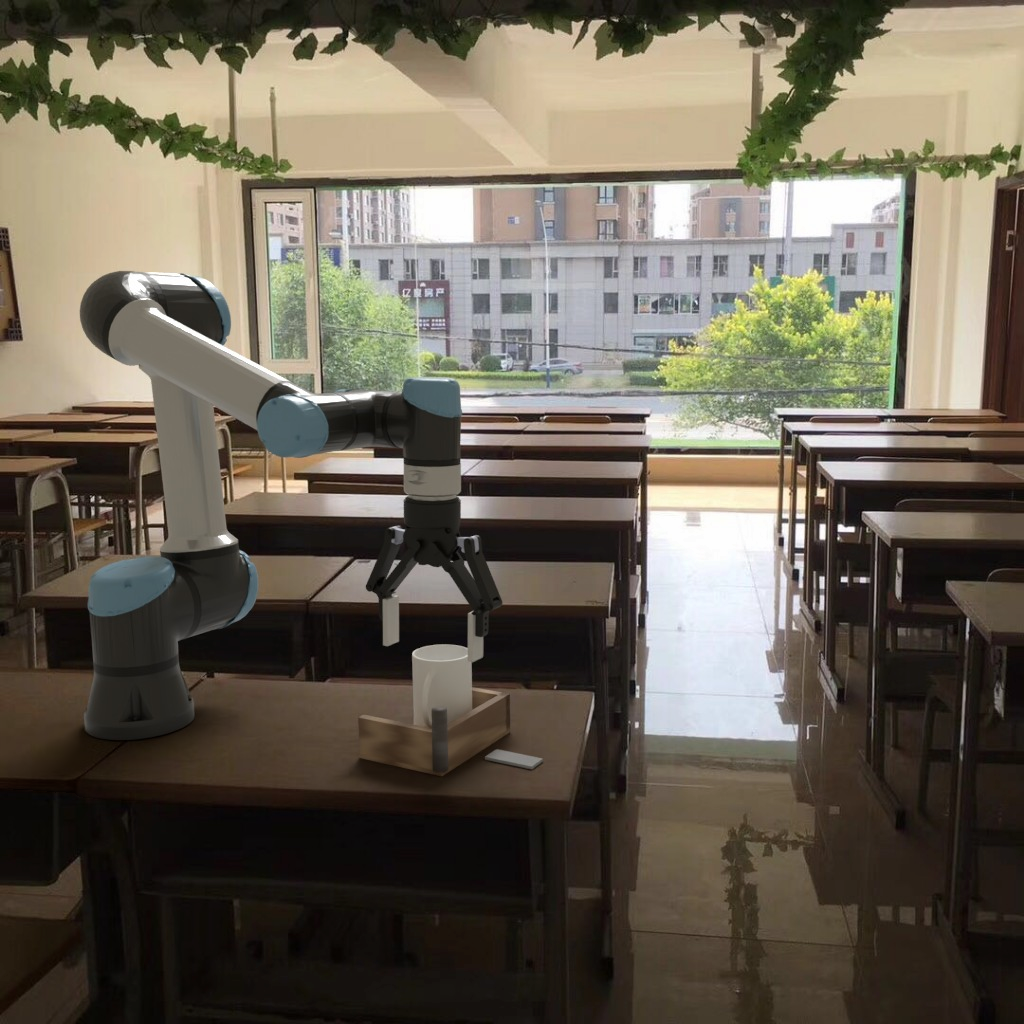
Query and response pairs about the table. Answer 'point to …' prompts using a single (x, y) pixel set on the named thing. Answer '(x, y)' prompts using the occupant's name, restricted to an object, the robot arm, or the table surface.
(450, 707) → the mug
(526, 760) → the grey rectangular slab
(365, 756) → the keeper cradle
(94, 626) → the robot arm
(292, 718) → the table surface
